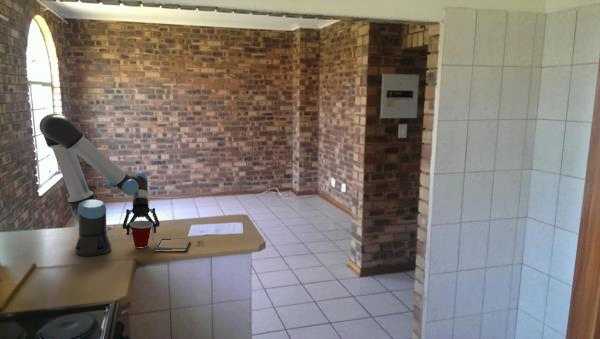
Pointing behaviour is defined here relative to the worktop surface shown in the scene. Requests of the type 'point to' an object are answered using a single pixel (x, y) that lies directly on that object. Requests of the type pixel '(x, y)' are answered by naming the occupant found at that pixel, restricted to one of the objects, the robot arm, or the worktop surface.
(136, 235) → the plastic cup
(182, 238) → the tray
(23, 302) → the worktop surface
